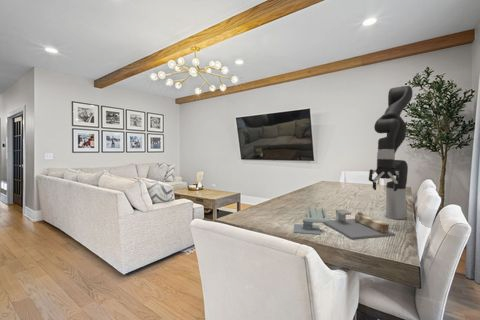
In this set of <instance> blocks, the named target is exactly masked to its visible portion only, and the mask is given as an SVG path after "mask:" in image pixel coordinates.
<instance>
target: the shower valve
mask: <svg viewBox="0 0 480 320" xmlns="http://www.w3.org/2000/svg"><path fill="white" fill-rule="evenodd" d="M325 222H326V221H325V220H316V219H304V218H303V219H302V223H294V224H293V233H294V234H300V235H303V234H304V235H315V236H320V235H321V234H322V233H321V229H320V226H319V225H317V223H318V224H319V223H322V224H324V223H325ZM314 223H316V224H314Z"/></svg>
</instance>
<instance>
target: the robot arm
mask: <svg viewBox="0 0 480 320" xmlns="http://www.w3.org/2000/svg"><path fill="white" fill-rule="evenodd" d="M387 96H388V97H387V101H388V102H387V105H388V107H387V108H386V110H385V111H384V113H383V114H382V115H381V116H380V117H379V118H378V119H377V120H376V121H375V123H374V127H373V128H374V131H375V132H376V133H377V134H386V136H384V137H381V138H379V139H377V140H378V142H377V153H376V154H377V155H376V169H372V168H371V169H369V171H368V172H369V173H368V181H369V182H372V189H373V190H374V191H377V181H378V180H380V179H388V180H389V179H390V180H391V181H387V182H386V187H385V188H386V191H385V192H386V193H385V194H386V195H385V196H386V201H385V204H386V206H385V216H386V217H387V218H389V219H392V220H405V219H407V218H408V201H406V198H407V197H406V195H407V194H406V192H407V183H408V172H409V171H408V170H409V169H408V167H409V164H408V163H407V161H406V160H404V159H396V153H397V151H398V149H399V147H400V146H401V145H402V144H403V142H404V141H405V140H406V136H407V124H406V122H405V120H404V119H403V118H402V116H401V114H402V112H403V110H404V109H405V108H406V107H407V106H408V104H409V103H410V102H411V100H412V98H413V87H411V86H410V85H403V86H396V87H392V88H389V90H388V95H387ZM375 173H376V174H377V175H376V176H375V178H373V175H374V174H375Z"/></svg>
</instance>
